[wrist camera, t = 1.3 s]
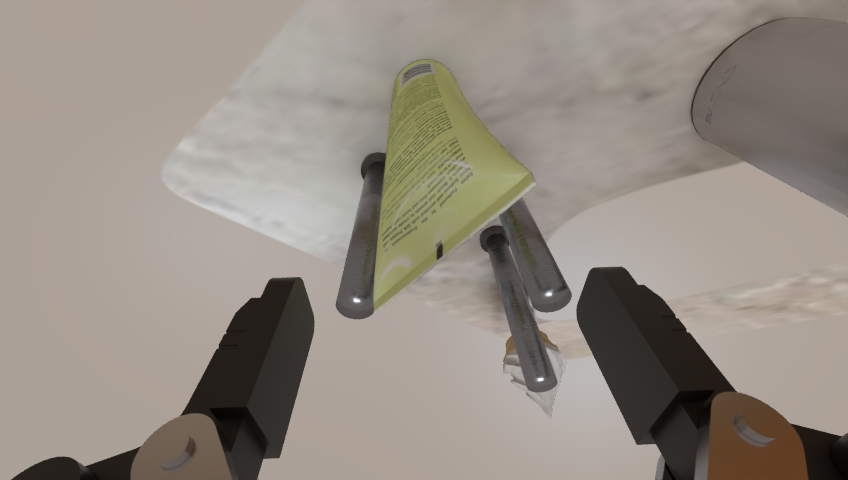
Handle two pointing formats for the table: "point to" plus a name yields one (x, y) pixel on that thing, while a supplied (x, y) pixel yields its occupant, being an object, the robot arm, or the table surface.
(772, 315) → the table surface
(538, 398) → the ice cream cone
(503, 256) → the wire posts
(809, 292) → the table surface
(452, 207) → the tube
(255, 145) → the table surface
